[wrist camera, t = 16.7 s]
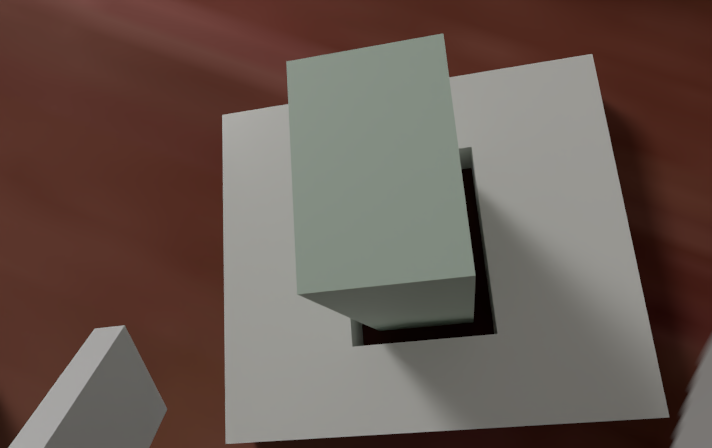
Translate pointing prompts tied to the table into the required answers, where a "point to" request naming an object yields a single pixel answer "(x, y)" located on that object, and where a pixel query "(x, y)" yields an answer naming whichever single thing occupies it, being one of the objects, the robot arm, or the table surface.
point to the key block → (380, 186)
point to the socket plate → (503, 271)
